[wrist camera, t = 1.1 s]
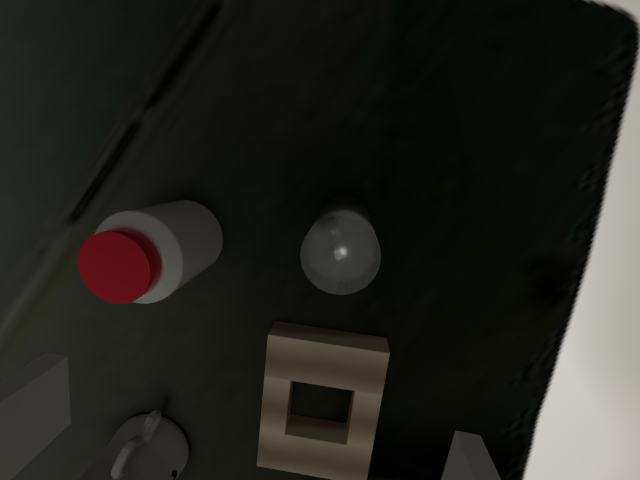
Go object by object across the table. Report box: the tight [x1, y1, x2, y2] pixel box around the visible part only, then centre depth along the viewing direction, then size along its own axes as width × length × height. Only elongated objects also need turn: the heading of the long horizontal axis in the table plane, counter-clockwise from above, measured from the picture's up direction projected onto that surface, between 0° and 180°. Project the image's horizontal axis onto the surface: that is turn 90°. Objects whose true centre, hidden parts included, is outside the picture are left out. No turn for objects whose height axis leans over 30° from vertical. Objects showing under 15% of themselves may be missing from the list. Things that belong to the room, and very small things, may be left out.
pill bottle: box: [78, 200, 223, 304], centre depth 29 cm, size 8×8×11 cm
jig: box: [257, 321, 390, 480], centre depth 36 cm, size 16×12×3 cm
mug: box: [78, 410, 189, 480], centre depth 36 cm, size 12×9×10 cm
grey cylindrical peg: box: [300, 195, 381, 295], centre depth 26 cm, size 5×5×14 cm
